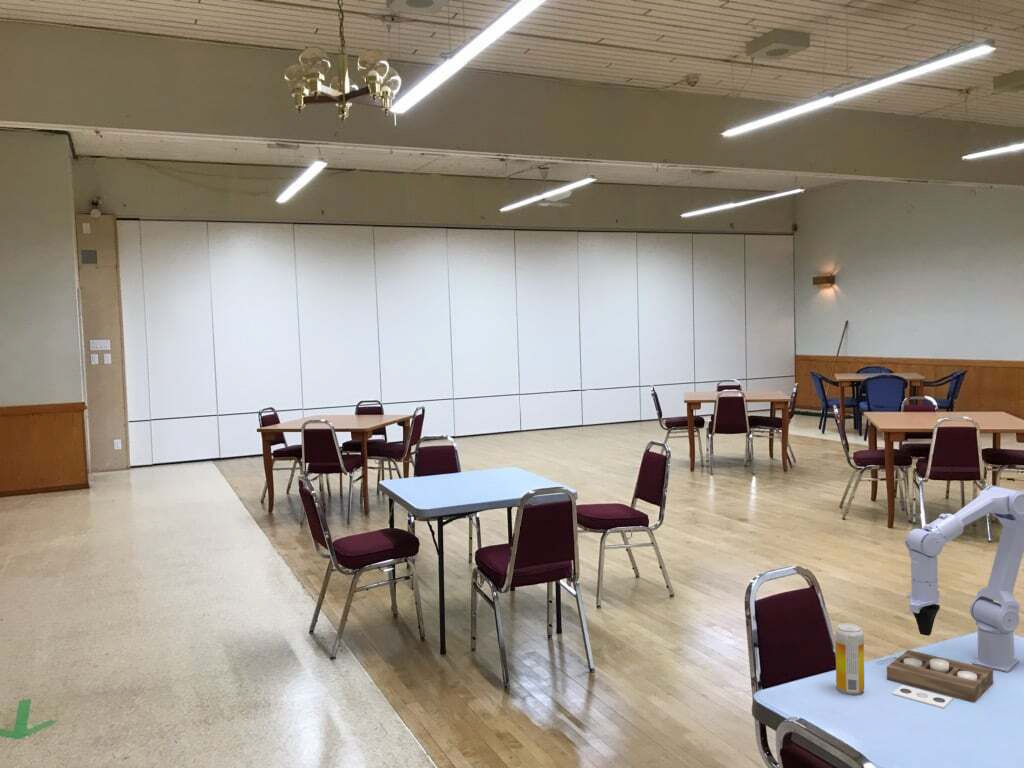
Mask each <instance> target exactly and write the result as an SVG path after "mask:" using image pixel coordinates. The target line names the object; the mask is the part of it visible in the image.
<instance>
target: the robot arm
mask: <svg viewBox="0 0 1024 768" xmlns="http://www.w3.org/2000/svg"><path fill="white" fill-rule="evenodd" d="M989 514H991V515H993V516H994V517H995V518H997V520H998V521H999V522H1000V524H1001V525H1002V531H1001V533H1000V537H999V541H998V543H997V544H998V545H997V549H996V553H995V556H994V560H993V565H992V566H991V567H992V568H991V571H990V575H989V579H988V582H987V586H986V587H984V588H981V589H980V590H978V591H977V592H976V593H977V594H976V596H975V599H973V601H972V602H971V605H970V607H969V614H970V617H971V618H972V619H973V620H974V621H975V626H977V657H976V658H975V659H974V660H972V662H971V664H972V665H975V666H980V667H984V668H988V669H993V670H997V671H1002V672H1006V673H1008V672H1010V671H1011V670H1012V668H1014V667H1015V666H1016V664H1018V663H1019V659H1018V658H1016V657H1015V635H1014V632H1015V630H1016V629H1017V627H1018V626H1019V624H1020V614H1019V612H1020V611H1019V610H1020V607H1021V605H1020V603H1019V602H1018V600H1017V599H1016V597H1015V596H1014V594H1013V592H1014V589H1015V586H1016V581H1017V578H1018V573H1019V570H1020V565H1021V562H1022V558H1023V556H1024V490H1014V489H1010V488H1007V487H1006V488H1004V487H1002V486H1001V487H1000V486H998V485H993V484H992V485H989V486H986V488H984V489H982V490H980V491H979V493H978V495H977V497H975V499H973V500H971V502H969V503H967V504H966V505H965V506H964V507H963V506H962V508H961V509H959V510H957V511H956V512H955V513H954V514H952V513H941V514H939V515H938V518H936V519H935V520H933V521H932V522H930V523H926V524H925V525H924V526H923V527H922V528H914V529H912V530H911V531H909V532H908V534H907V536H906V539H904V545H905V547H906V548H907V550H908V554H909V555H908V556H909V557H910V573H911V575H910V579H911V582H910V585H911V592H909V593H907V594H906V598H907V599H910V603H909V612H910V613H912V614H913V616H914V618H915V621H916V625H917V628H918V631H919V634H920V635H923V636H928V637H929V636H931V634H932V631H933V628H934V623H935V618H936V617H937V614H938V613H939V610H940V608H941V605H940V604H938V603H939V601H940V590H939V585H938V583H939V581H938V579H939V578H938V576H939V575H938V556H939V555H940V554H941V553H942V551H943V549H944V547H945V546H946V545H947V544H948V543H950V542H951V541H952V540H954V539H955V538H957V537H959V536H960V535H962V534H963V532H964V527H965V526H967V525H969V524H971V523H973V522H975V521H977V520H978V519H981V518H982V517H985V516H986V515H989Z"/></svg>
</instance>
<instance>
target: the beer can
mask: <svg viewBox="0 0 1024 768" xmlns="http://www.w3.org/2000/svg"><path fill="white" fill-rule="evenodd" d="M864 634H865V633H864V630H863V628H862V626H860V625H858V624H855V623H848V622H846V623H844V622H843V623H838V625H836V628H835V679H836V680H835V684H836V688H838V690H839V691H840V693H842V694H843V693H844V694H846V695H851V696H853V695H860V693H861V694H862V692H863V691H864V690H865V640H864V638H865V637H864Z"/></svg>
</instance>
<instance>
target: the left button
mask: <svg viewBox="0 0 1024 768" xmlns="http://www.w3.org/2000/svg"><path fill="white" fill-rule="evenodd" d="M904 664H909V665H913V666H917V667H921V666H922V661H921V660H918V659H915V658H905V659H904Z"/></svg>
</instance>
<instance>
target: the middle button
mask: <svg viewBox="0 0 1024 768" xmlns="http://www.w3.org/2000/svg"><path fill="white" fill-rule="evenodd" d="M930 670H933V671H937V672H941V673H945V674H948V673H949V662H948V661H946V660H943V659H931V660H930Z"/></svg>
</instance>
